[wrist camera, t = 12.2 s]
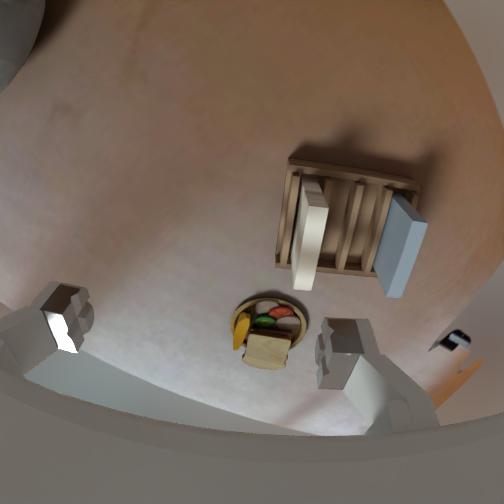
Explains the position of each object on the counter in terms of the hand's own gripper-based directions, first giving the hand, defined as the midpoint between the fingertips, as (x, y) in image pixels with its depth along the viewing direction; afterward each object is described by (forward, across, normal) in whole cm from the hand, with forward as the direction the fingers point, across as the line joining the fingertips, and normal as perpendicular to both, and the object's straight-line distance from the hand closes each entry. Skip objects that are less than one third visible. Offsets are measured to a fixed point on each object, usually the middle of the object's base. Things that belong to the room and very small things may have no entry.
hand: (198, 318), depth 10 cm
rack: (+31, -13, +9) cm, 35 cm away
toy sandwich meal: (+32, -5, +30) cm, 44 cm away
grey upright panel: (+30, -19, +9) cm, 36 cm away
